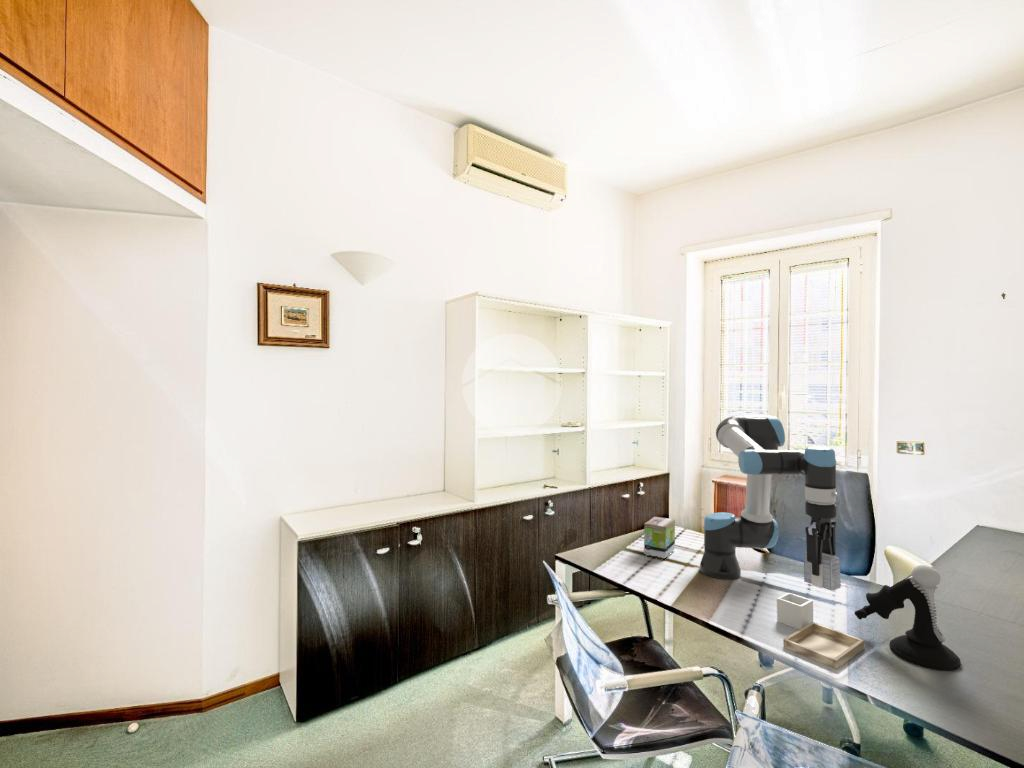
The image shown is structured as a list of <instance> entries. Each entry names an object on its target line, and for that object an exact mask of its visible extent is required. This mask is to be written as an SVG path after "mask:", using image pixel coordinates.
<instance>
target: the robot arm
mask: <svg viewBox="0 0 1024 768" xmlns="http://www.w3.org/2000/svg"><path fill="white" fill-rule="evenodd" d="M715 438H716V439H717V441H718V443H719V444H721V446H723V447H724V448H725V449H729V450H731V452H733V454H735V456H737V459H738V461H737V462H738V468H739V471H741V473H743V474H745V475H746V485H745V486H746V487H745V505H744V506H745V507H744V509H743V510H741V511H740V517H739V516H738V517H736V515H735V514H734V513H731V512H724V511H723V512H722V511H721V512H712V513H710V514H708V515H706V516H705V517H704V520H703V521H704V522H703V537H704V539H703V541H704V542H703V544H704V545H703V546H704V548H703V549H704V551H703V554H702V558H701V560H700V563H699V571H700V573H702V574H703V575H705V576H708V577H709V578H710V577H711V578H716V579H720V580H734V579H739V578H741V575H742V573H741V571H742V570H741V567H740V563H739V560H738V558H737V556H736V549H737V548H743V549H760V550H762V549H772V548H774V547H775V546H776V544H777V543H778V540H779V524H778V522H777V520H776V519H774V516H773V515H772V514H771V512H770V508H771V506H770V505H771V490H772V477H773V476H772V475H777V476H779V475H781V476H803V477H804V499H805V500H806V501H805V503H804V504H805V514H806V515H807V516H809V517H810V518H811V519H810V524H809V526H805V534H806V538H805V539H806V552H807V561H808V562H811V576H812V584H811V586H813V587H816V588H817V587H818V588H820V589H824V588H823V564H821V558H822V553H825V554H829V555H832V556H836V554H837V553H836V552H837V551H836V548H837V547H836V526H837V521H836V520H832V519H835V518H836V517H837V514H838V513H837V504H836V502H837V497H838V493H837V479H836V478H837V468H836V467H837V466H836V465H837V460H836V452H835V450H834V449H833V448H830V447H824V446H808V447H805V449H804V448H793V449H779V448H781V447H783V446H784V444H786V443H785V441H786V434H785V429H784V426H783V423H782V422H781V420H780V419H779V418H778V417H777V416H774V415H765V414H764V415H732V416H729V417H727V418H724V420H722V421H720V423H719V424H718V425H717V427H716V430H715Z"/></svg>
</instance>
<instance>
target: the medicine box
mask: <svg viewBox="0 0 1024 768" xmlns="http://www.w3.org/2000/svg"><path fill="white" fill-rule="evenodd" d="M840 559H841V558H840V557H839V556H836V555H835V556H832V555H829V554H825V553H822V558H821V564H823V588H822V589H825V590H828V591H831V592H833V591H836V590H839V589H840V588H841V587H842V586H841V560H840ZM803 578H804V579H803V582H805V583H807V584H811V585H812V576H811V562H808V561H807V551H803Z"/></svg>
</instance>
